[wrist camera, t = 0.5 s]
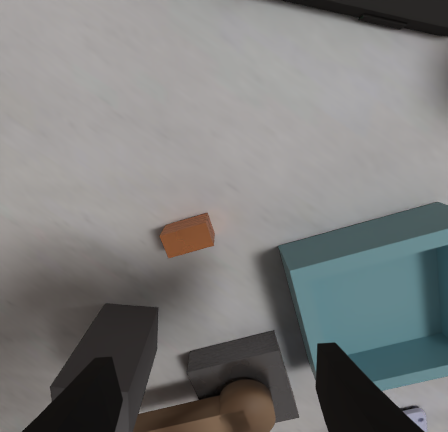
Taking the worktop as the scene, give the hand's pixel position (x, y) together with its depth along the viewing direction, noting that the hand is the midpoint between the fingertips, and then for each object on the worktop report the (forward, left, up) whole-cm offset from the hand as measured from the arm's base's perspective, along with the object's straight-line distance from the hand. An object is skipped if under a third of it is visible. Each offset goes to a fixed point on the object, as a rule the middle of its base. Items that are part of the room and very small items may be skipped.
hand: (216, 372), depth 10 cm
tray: (-6, -9, -10) cm, 15 cm away
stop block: (-4, +9, -10) cm, 14 cm away
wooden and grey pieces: (-6, +1, -10) cm, 12 cm away
